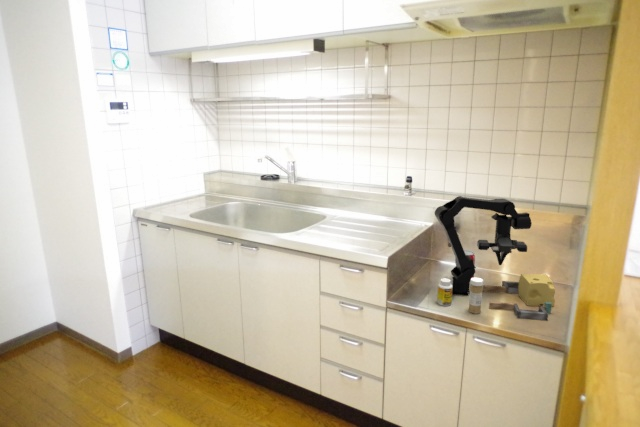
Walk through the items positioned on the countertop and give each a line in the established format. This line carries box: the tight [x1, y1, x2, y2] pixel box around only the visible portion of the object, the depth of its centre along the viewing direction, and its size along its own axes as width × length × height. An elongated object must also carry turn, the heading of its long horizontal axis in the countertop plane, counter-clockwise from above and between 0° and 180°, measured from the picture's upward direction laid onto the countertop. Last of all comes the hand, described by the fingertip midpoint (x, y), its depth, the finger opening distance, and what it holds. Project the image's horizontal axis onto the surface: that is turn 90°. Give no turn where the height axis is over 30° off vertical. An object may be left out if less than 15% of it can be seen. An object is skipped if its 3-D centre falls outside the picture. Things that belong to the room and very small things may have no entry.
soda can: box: [464, 249, 476, 281], centre depth 193 cm, size 7×7×13 cm
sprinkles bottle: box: [468, 276, 484, 315], centre depth 162 cm, size 5×5×14 cm
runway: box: [482, 280, 552, 321], centre depth 171 cm, size 22×29×4 cm
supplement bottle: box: [436, 277, 453, 307], centre depth 170 cm, size 6×6×10 cm
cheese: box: [518, 273, 556, 308], centre depth 171 cm, size 10×11×10 cm
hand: (499, 264), depth 178 cm, fingers closed
